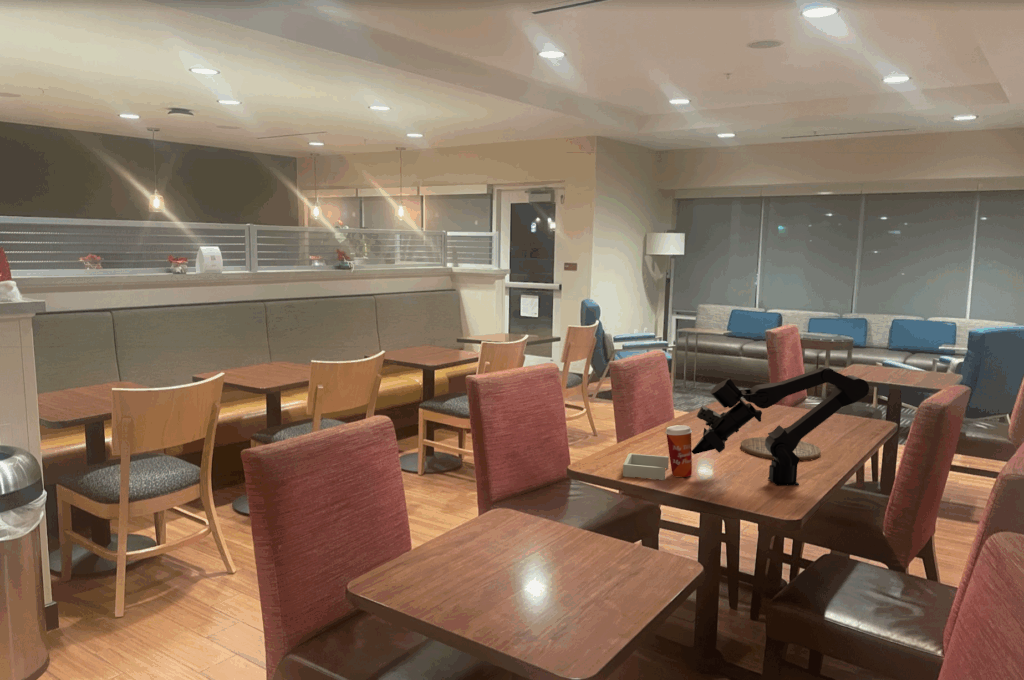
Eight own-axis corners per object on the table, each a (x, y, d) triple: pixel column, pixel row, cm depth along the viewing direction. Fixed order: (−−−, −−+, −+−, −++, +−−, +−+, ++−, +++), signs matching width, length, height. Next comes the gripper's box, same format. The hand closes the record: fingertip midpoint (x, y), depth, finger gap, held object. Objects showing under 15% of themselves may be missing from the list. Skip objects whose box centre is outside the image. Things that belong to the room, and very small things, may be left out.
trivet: (741, 439, 251) (741, 434, 251) (817, 446, 243) (817, 440, 243) (739, 457, 228) (739, 451, 227) (823, 465, 219) (823, 459, 219)
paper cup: (676, 479, 202) (672, 432, 201) (664, 473, 209) (660, 427, 208) (700, 475, 204) (697, 427, 203) (687, 469, 211) (683, 423, 210)
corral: (668, 467, 214) (668, 456, 214) (664, 480, 202) (665, 468, 201) (628, 464, 218) (629, 453, 217) (622, 476, 205) (623, 464, 205)
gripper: (715, 392, 210) (675, 424, 215) (714, 403, 193) (671, 439, 197) (741, 420, 209) (701, 452, 213) (743, 434, 191) (698, 469, 196)
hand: (692, 452), depth 205 cm, fingers closed, pressing on paper cup
